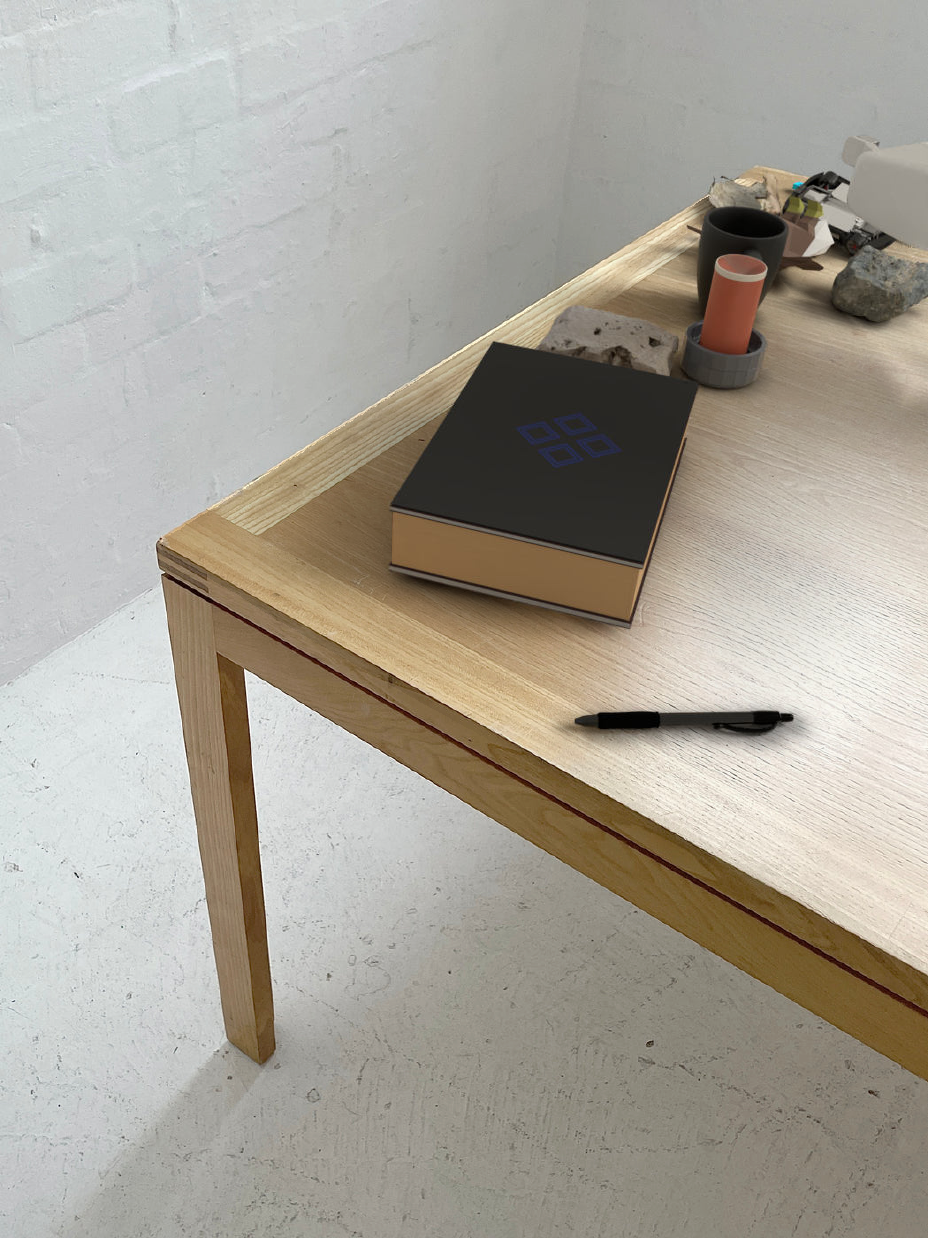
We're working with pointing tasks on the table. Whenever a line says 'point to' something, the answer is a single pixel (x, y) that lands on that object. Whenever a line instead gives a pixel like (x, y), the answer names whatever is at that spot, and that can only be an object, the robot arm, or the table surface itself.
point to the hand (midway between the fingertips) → (897, 138)
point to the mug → (739, 244)
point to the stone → (611, 340)
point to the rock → (879, 285)
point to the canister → (732, 304)
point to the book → (546, 483)
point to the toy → (802, 235)
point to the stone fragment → (747, 195)
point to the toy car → (839, 213)
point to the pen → (688, 720)
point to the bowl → (721, 361)
